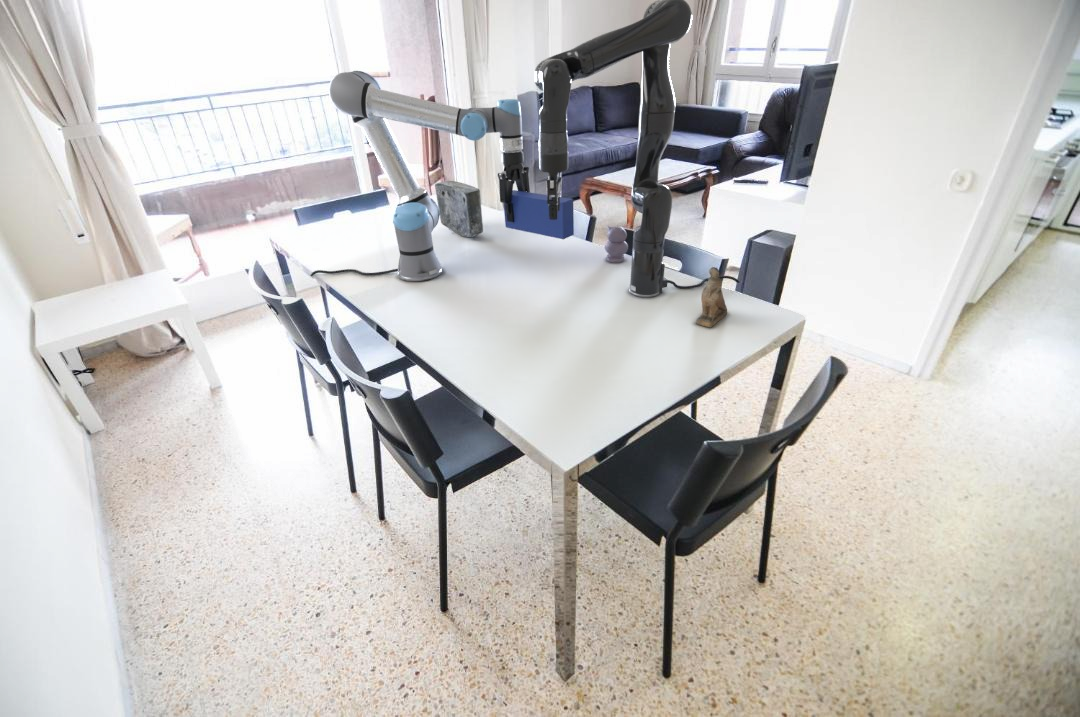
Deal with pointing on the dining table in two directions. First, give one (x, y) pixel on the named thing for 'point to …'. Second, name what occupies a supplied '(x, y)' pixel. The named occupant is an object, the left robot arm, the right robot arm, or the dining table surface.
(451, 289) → the dining table surface
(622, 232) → the cat figurine
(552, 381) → the dining table surface
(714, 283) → the brown carved statuette
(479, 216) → the concrete block
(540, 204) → the box
